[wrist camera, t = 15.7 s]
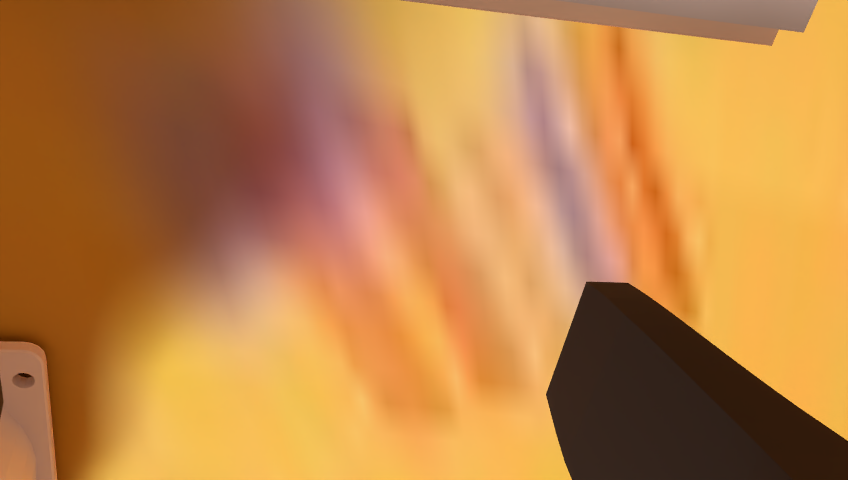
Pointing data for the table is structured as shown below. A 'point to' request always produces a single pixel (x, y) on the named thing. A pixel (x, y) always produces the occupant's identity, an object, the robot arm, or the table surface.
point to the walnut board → (665, 15)
